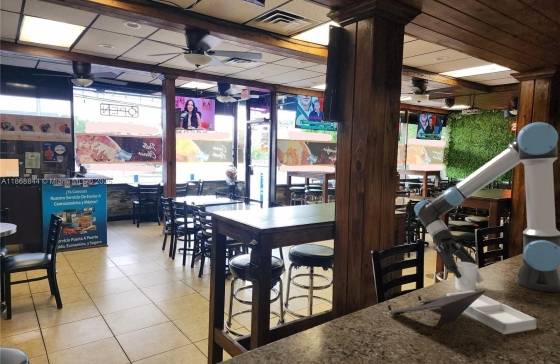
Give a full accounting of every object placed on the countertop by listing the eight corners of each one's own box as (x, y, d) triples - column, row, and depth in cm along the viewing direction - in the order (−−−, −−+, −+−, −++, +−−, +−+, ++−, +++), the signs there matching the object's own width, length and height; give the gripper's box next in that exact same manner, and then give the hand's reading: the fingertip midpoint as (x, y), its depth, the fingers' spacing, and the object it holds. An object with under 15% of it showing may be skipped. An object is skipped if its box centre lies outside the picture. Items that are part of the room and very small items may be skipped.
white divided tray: (472, 298, 134) (472, 290, 134) (536, 328, 111) (536, 319, 110) (444, 301, 130) (444, 293, 130) (503, 334, 107) (504, 324, 107)
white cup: (479, 294, 138) (480, 268, 137) (457, 292, 140) (458, 266, 139) (472, 286, 146) (474, 262, 145) (451, 285, 147) (452, 261, 147)
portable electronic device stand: (433, 320, 129) (424, 294, 132) (495, 313, 111) (482, 283, 114) (389, 337, 117) (380, 307, 120) (450, 333, 99) (438, 298, 102)
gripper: (450, 236, 160) (484, 283, 146) (417, 240, 150) (449, 292, 137) (462, 226, 155) (497, 274, 141) (427, 230, 145) (462, 282, 132)
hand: (473, 283), depth 139 cm, fingers closed on white cup, 8 cm apart
